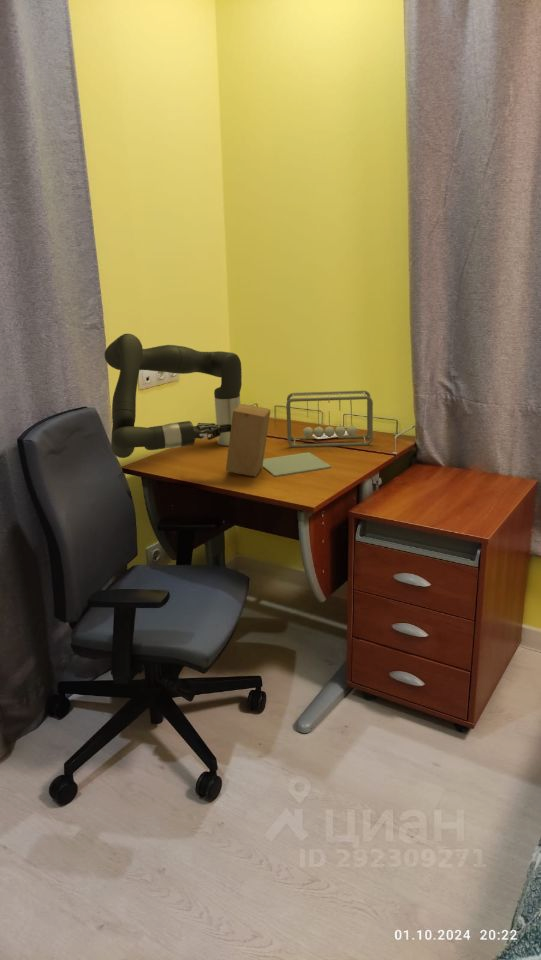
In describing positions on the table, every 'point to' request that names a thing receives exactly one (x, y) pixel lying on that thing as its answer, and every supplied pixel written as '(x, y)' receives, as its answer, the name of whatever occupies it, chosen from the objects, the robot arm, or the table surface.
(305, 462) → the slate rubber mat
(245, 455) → the wooden block
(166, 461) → the table surface
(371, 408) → the newton's cradle
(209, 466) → the table surface
